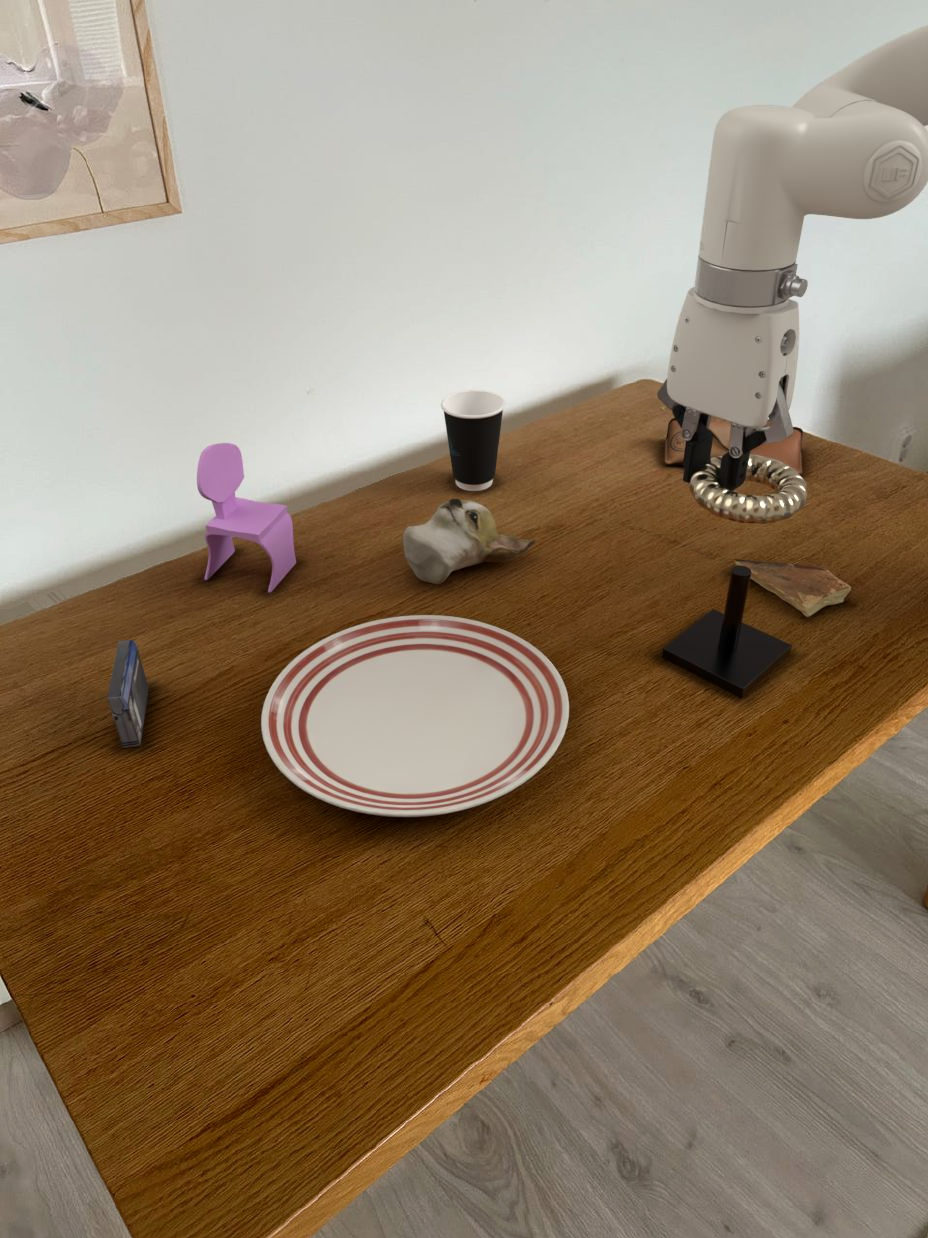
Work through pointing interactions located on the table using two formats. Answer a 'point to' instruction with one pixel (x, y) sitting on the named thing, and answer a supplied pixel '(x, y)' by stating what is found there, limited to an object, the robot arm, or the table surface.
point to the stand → (728, 644)
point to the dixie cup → (473, 436)
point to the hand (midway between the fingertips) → (711, 482)
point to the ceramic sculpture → (458, 541)
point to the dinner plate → (415, 716)
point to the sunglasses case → (720, 431)
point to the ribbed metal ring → (750, 506)
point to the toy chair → (241, 514)
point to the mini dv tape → (128, 694)
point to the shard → (798, 584)
